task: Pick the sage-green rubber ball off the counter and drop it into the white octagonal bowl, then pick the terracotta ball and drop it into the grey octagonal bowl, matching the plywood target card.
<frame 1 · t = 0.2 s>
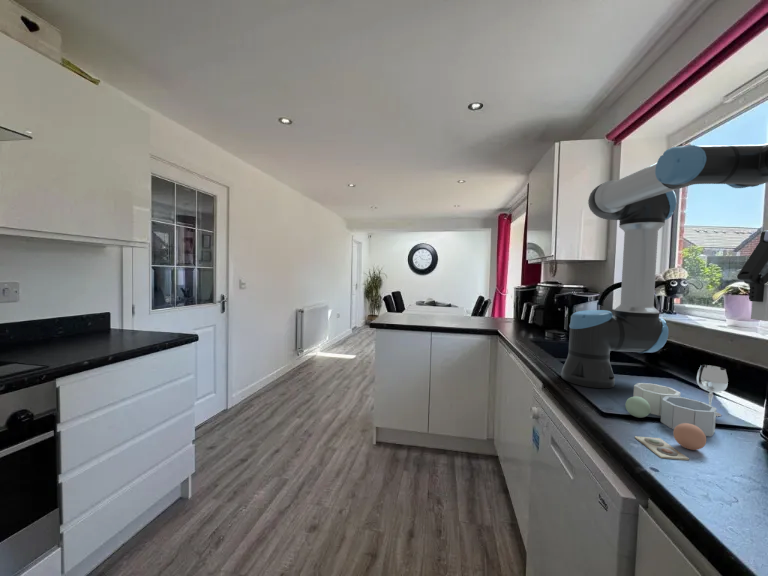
terracotta ball: (688, 448, 69), on the table
sage ball: (637, 416, 84), on the table
white octagonal bowl: (655, 409, 89), on the table
wineglass: (709, 413, 88), on the table
target card: (660, 448, 69), on the table
grey octagonal bowl: (686, 426, 79), on the table
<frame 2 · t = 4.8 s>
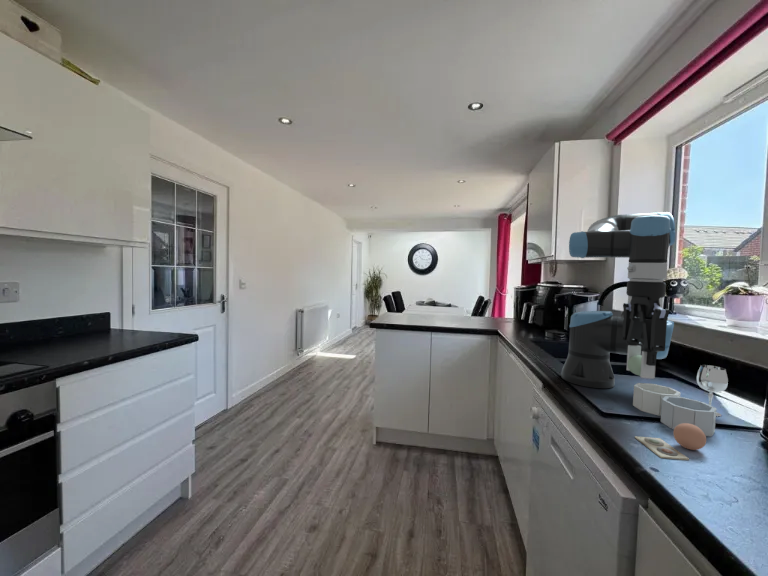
hand: (639, 373, 84), 11 cm above the table, fingers closed on sage ball, 5 cm apart
sage ball: (639, 375, 84), point 10 cm above the table, touching gripper
everything else where it was.
when the fingers open (7 cm above the table, at t = 6.7 s): sage ball drops 6 cm, resting on white octagonal bowl.
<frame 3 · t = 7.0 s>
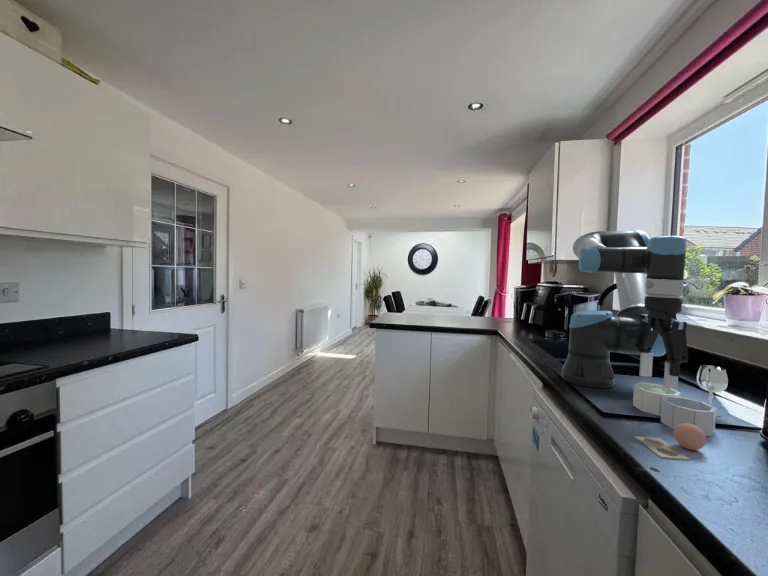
hand: (657, 381, 89), 7 cm above the table, fingers open, 9 cm apart
sage ball: (654, 406, 89), point 1 cm above the table, touching white octagonal bowl
everything else where it was.
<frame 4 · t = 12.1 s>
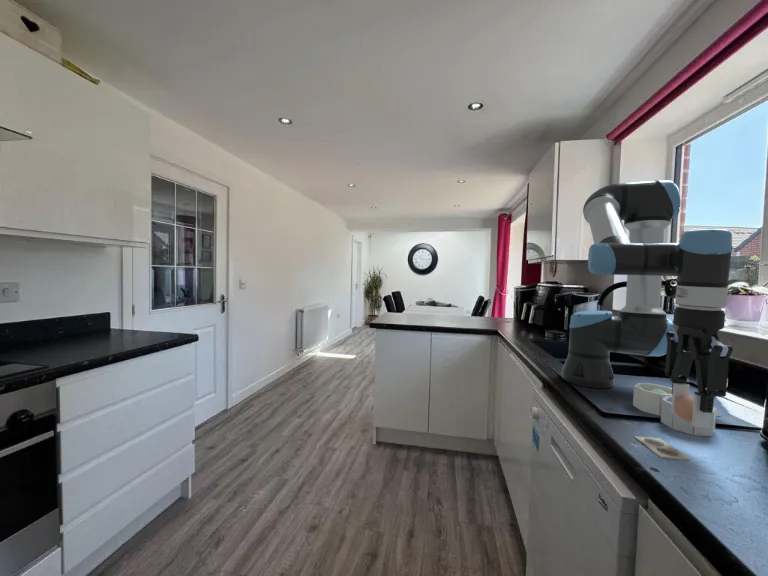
hand: (689, 419, 69), 6 cm above the table, fingers closed on terracotta ball, 5 cm apart
terracotta ball: (689, 421, 69), point 5 cm above the table, touching gripper
sage ball: (654, 406, 89), point 1 cm above the table, tilted 25°, touching white octagonal bowl
everything else where it was.
when the fingers open (7 cm above the table, at t = 14.4 s): terracotta ball drops 6 cm, resting on grey octagonal bowl.
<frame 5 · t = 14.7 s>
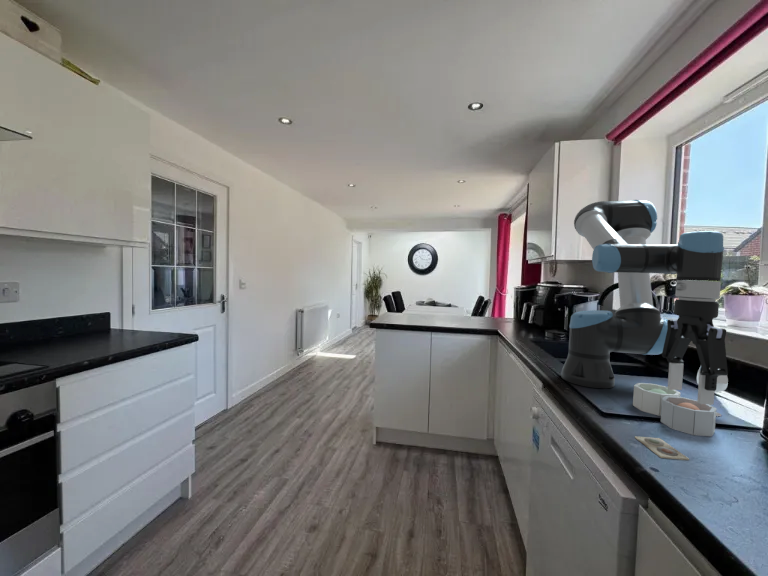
hand: (689, 395, 79), 7 cm above the table, fingers open, 8 cm apart
terracotta ball: (686, 423, 79), point 1 cm above the table, touching grey octagonal bowl
sage ball: (654, 406, 89), point 1 cm above the table, tilted 20°, touching white octagonal bowl
everything else where it was.
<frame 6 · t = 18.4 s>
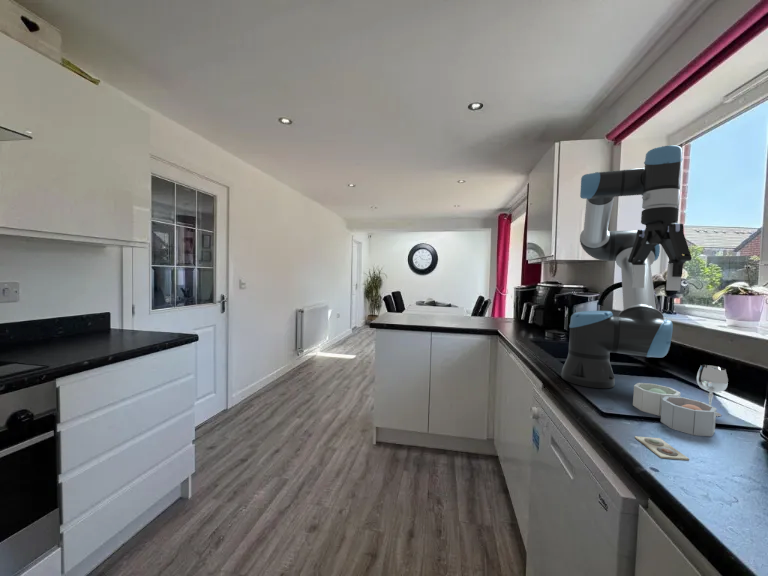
hand: (654, 289, 90), 32 cm above the table, fingers open, 13 cm apart
terracotta ball: (686, 422, 79), point 1 cm above the table, tilted 28°, touching grey octagonal bowl
sage ball: (654, 406, 89), point 1 cm above the table, tilted 12°, touching white octagonal bowl
everything else where it was.
at the end: sage ball 0.1 cm off-centre on the white octagonal bowl, point 0.7 cm above the white octagonal bowl's base; terracotta ball 0.0 cm off-centre on the grey octagonal bowl, point 0.9 cm above the grey octagonal bowl's base; the gripper is holding nothing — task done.
